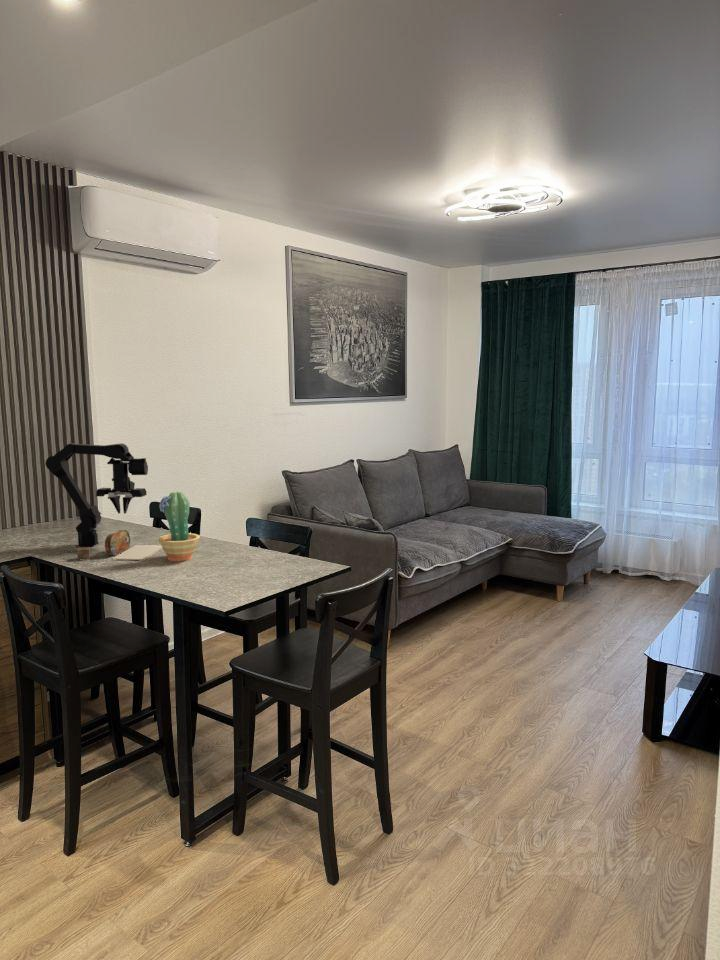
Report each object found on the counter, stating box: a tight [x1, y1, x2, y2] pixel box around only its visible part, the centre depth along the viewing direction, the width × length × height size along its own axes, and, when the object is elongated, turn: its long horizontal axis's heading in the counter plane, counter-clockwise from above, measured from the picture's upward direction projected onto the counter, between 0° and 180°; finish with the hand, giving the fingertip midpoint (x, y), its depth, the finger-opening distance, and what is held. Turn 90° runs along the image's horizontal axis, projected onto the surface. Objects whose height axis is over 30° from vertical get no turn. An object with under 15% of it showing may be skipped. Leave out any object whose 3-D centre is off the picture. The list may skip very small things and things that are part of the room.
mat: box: [111, 544, 163, 562], centre depth 254 cm, size 12×22×1 cm, turn 176°
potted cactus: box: [157, 491, 201, 562], centre depth 246 cm, size 15×15×25 cm
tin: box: [104, 529, 131, 556], centre depth 254 cm, size 15×3×8 cm, turn 172°
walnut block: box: [77, 547, 92, 561], centre depth 245 cm, size 4×4×4 cm
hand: (122, 513), depth 266 cm, fingers open, 2 cm apart
